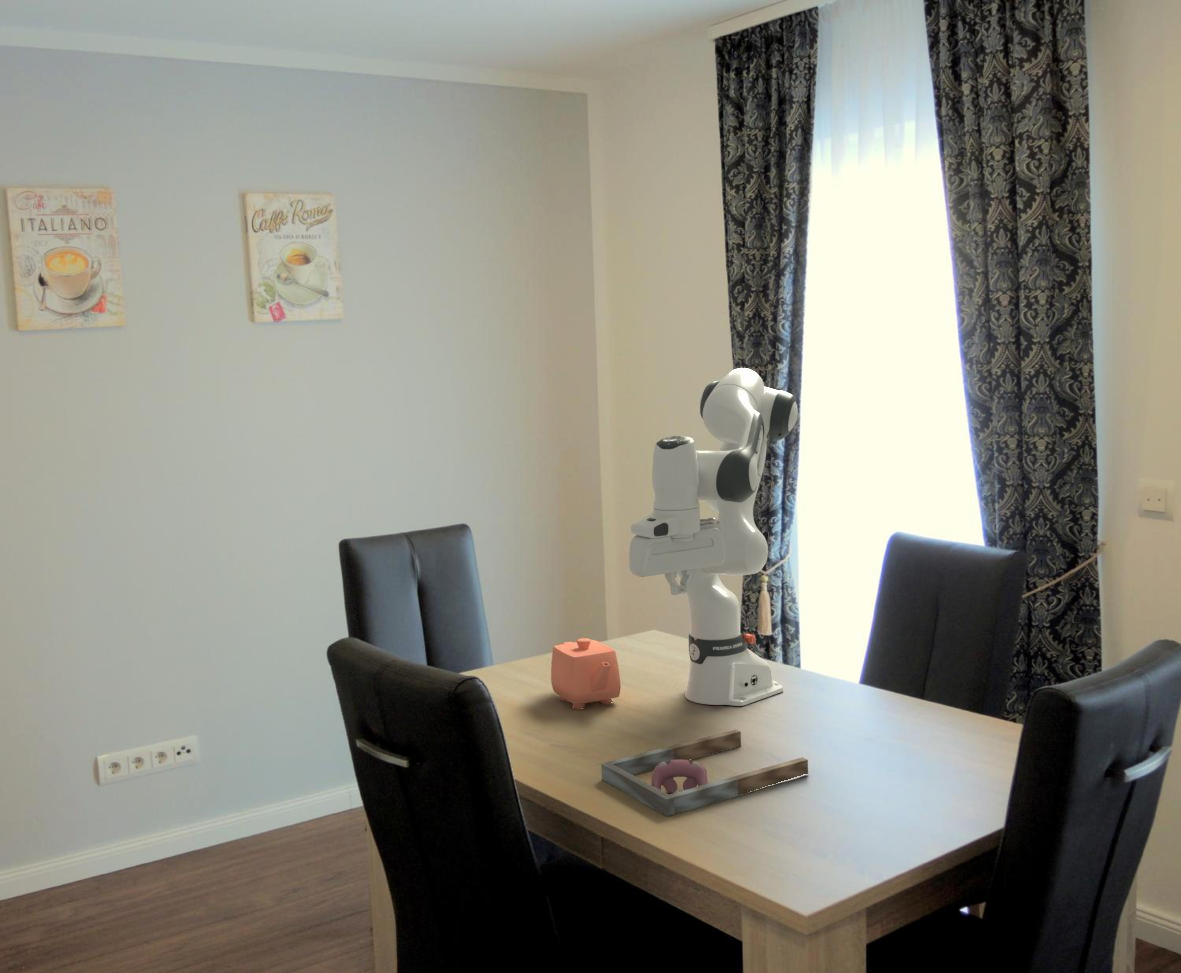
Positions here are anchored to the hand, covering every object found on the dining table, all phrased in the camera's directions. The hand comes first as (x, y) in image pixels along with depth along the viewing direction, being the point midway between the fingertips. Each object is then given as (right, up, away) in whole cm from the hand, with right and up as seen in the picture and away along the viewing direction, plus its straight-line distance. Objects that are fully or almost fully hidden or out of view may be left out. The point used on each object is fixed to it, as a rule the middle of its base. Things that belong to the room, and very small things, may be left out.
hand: (679, 593), depth 221 cm
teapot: (-18, -28, +38) cm, 50 cm away
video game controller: (-1, -34, -18) cm, 38 cm away
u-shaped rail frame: (+3, -33, -11) cm, 35 cm away
